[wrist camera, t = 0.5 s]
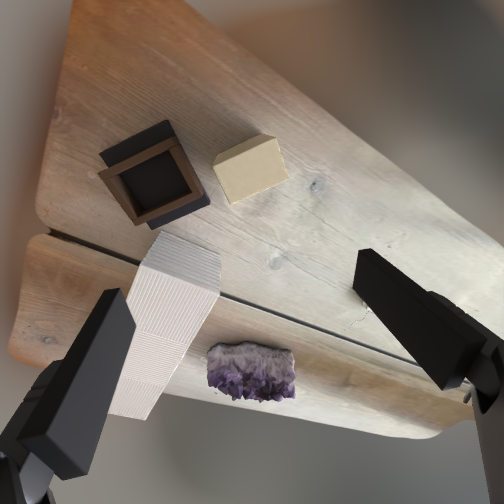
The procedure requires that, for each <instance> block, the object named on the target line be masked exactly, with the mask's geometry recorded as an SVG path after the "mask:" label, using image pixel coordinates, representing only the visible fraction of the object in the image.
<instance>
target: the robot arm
mask: <svg viewBox="0 0 504 504" xmlns="http://www.w3.org/2000/svg"><path fill="white" fill-rule="evenodd" d="M352 288H353V290H354V291H355V292H356V293H357V294H358V295H359V296H360V298H361V299H362V300H363V301H364V302H365V303H366V304H367V306H368V307H369V308H370V309H371V310H372V311H373V312H374V314H375V315H376V316H377V317H378V318H379V319H380V320H381V322H382V323H383V324H384V325H385V326H386V327H387V328H388V330H389V331H390V332H391V333H392V334H393V335H394V336H395V338H396V339H397V340H398V341H399V342H400V343H401V344H402V346H403V347H404V348H405V349H406V350H407V351H408V352H409V354H410V355H411V356H412V357H413V358H414V359H415V360H416V362H417V363H418V364H419V365H420V366H421V367H422V368H423V370H424V371H425V372H426V373H427V374H428V375H429V376H430V378H431V379H432V380H433V381H434V382H435V383H436V384H437V386H438V387H439V388H440V389H441V390H442V391H444V390H448V389H452V388H457V387H460V385H461V384H462V382H463V380H464V378H465V377H466V378H467V379H468V380H469V381H470V382H471V383H472V386H471V387H470V389H469V390H468V392H467V393H466V395H465V397H464V400H463V402H464V403H466V404H467V403H468V401H469V400H470V398H471V397H472V403H473V404H472V406H473V409H474V414H475V420H476V425H477V431H478V436H479V441H480V447H481V453H482V459H483V464H484V470H485V475H486V481H487V486H488V492H489V497H490V503H491V504H504V340H503V339H501V338H500V337H498V336H497V335H496V334H494V333H493V332H491V331H490V330H489V329H487V328H486V327H485V326H483V325H482V324H481V323H479V322H478V321H477V320H475V319H474V318H473V317H471V316H470V315H468V314H467V313H465V312H464V311H463V310H462V309H460V308H459V307H456V305H455V304H454V303H452V302H451V301H450V300H448V299H447V298H445V297H444V296H442V295H439V294H437V293H435V292H433V291H428V292H427V291H426V290H425V289H423V288H422V287H421V286H419V285H418V284H417V283H415V282H414V281H413V280H412V279H410V278H409V277H408V276H406V275H405V274H404V273H403V272H401V271H400V270H399V269H397V268H396V267H395V266H393V265H392V264H391V263H390V262H388V261H387V260H386V259H384V258H383V257H382V256H381V255H379V254H378V253H377V252H375V251H374V250H373V249H371V248H369V249H363V250H359V251H358V257H357V263H356V269H355V275H354V281H353V287H352ZM136 327H137V325H136V323H135V321H134V319H133V316H132V314H131V312H130V309H129V307H128V305H127V302H126V300H125V298H124V296H123V293H122V291H121V289H120V288H114V289H108V290H104V291H103V293H102V295H101V297H100V298H99V300H98V302H97V303H96V305H95V307H94V308H93V310H92V312H91V313H90V315H89V317H88V318H87V320H86V322H85V324H84V325H83V327H82V329H81V330H80V332H79V334H78V335H77V337H76V339H75V340H74V342H73V344H72V345H71V347H70V349H69V350H68V352H67V354H66V356H65V357H64V359H62V360H57V361H53V362H52V363H51V364H50V365H49V366H48V367H47V368H46V369H45V370H44V371H43V372H42V373H41V374H40V375H39V377H38V378H37V379H36V381H35V382H34V384H33V386H32V387H31V390H30V391H29V392H28V393H27V395H26V396H25V398H24V399H23V400H24V401H23V402H22V403H21V404H20V406H19V407H18V409H17V410H16V412H15V413H14V415H13V416H12V418H11V419H10V421H9V422H8V424H7V426H6V427H5V429H4V430H3V432H2V433H1V435H0V504H56V502H55V499H54V496H53V493H52V491H51V490H50V488H49V487H48V486H49V484H50V482H51V479H52V477H53V474H55V475H57V476H58V477H59V478H60V479H61V480H67V479H72V478H76V477H79V476H84V475H87V474H88V471H89V468H90V465H91V462H92V459H93V456H94V453H95V450H96V447H97V444H98V441H99V438H100V435H101V432H102V429H103V426H104V423H105V420H106V417H107V414H108V411H109V408H110V405H111V402H112V399H113V396H114V393H115V390H116V387H117V384H118V381H119V378H120V375H121V372H122V369H123V366H124V363H125V360H126V357H127V354H128V351H129V348H130V345H131V342H132V339H133V336H134V333H135V330H136Z"/></svg>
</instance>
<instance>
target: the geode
mask: <svg viewBox="0 0 504 504" xmlns="http://www.w3.org/2000/svg"><path fill="white" fill-rule="evenodd" d="M207 358H208V364H207V371H208V373H207V379H208V386H210V387H212V386H214V387H215V388H217V387H218V390H220V391H221V392H223V393H224V394H226V395H227V394H229V395H230V396H232V400H233V401H234V400H236V399H237V398H238V399H241V396H242V395H243V397H244V398H245V400H246V399H254V400H259V402H260V403H261V402H262V401H263V400H266V401H270V400H275V401H278V402H280V401H281V400H282V399H283V398H295V388H294V384H293V381H294V379H295V378H296V374H295V372H294V370H293V368H294V362H295V361H294V357H293V355H292V351H291V350H288V349H271V348H269V347H266V346H262V345H258V344H255V343H252V342H248V341H247V342H243V343H241V344H239V345H236V346H228V345H225V344H222V343H217V344H216V345H214V346H212V347H210V349H209V350H208V352H207Z"/></svg>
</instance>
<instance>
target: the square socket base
mask: <svg viewBox="0 0 504 504" xmlns="http://www.w3.org/2000/svg"><path fill="white" fill-rule="evenodd" d="M99 155H100V156H101V157H102V159H103V160H104V162H105V163H106V165H107V166H108V168H107V169H105V170H103V171H101V172H99V173H98V175H99V176H100V178H101V179H102V180H103V182H104V183H105V185H106V186H107V187H108V189H109V190H110V192H111V193H112V194H113V196H114V197H115V198H116V200H117V201H118V203H119V204H120V205H121V207H122V208H123V210H124V211H125V212H126V214H127V215H128V217H129V218H130V219H131V220H132V222H133V223H134V225H135V226H138V225H140V224H142V223H145V222H146V223H147V224H148V226H149V227H150V229H151V230H154V229H156V228H158V227H160V226H162V225H165V224H167V223H169V222H171V221H174V220H176V219H178V218H180V217H183V216H185V215H187V214H189V213H192V212H194V211H196V210H198V209H200V208H203V207H205V206H207V205H209V204H210V200H209V198H208V196H207V194H206V192H205V190H204V188H203V186H202V184H201V182H200V180H199V178H198V177H197V175H196V173H195V171H194V169H193V167H192V165H191V163H190V161H189V159H188V157H187V155H186V153H185V152H184V150H183V148H182V146H181V144H180V142H179V140H178V138H177V136H176V134H175V132H174V130H173V128H172V127H171V125H170V123H169V121H168V120H164V121H162V122H160V123H158V124H156V125H154V126H152V127H150V128H148V129H146V130H144V131H142V132H140V133H138V134H136V135H134V136H132V137H130V138H128V139H127V140H125V141H123V142H121V143H119V144H117V145H115V146H113V147H111V148H109V149H107V150H105V151H103V152H101V153H99Z"/></svg>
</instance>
